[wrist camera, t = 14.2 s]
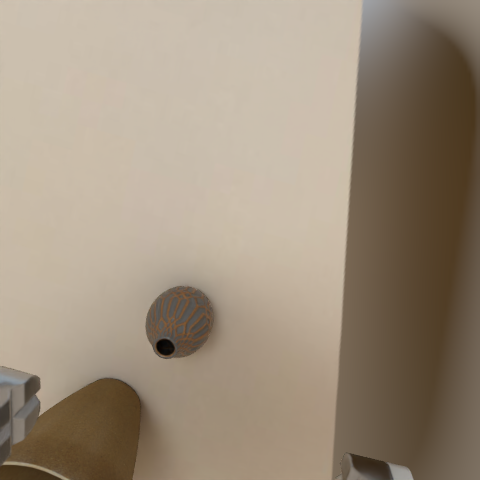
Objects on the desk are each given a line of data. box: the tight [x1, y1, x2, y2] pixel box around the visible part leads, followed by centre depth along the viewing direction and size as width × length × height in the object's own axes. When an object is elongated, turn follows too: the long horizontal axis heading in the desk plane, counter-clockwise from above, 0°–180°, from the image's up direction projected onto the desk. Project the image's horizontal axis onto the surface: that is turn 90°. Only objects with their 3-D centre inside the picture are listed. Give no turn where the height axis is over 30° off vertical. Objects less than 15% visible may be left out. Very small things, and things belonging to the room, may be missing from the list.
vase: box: [146, 286, 213, 359], centre depth 39 cm, size 7×7×9 cm
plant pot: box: [0, 378, 141, 480], centre depth 41 cm, size 15×15×16 cm
